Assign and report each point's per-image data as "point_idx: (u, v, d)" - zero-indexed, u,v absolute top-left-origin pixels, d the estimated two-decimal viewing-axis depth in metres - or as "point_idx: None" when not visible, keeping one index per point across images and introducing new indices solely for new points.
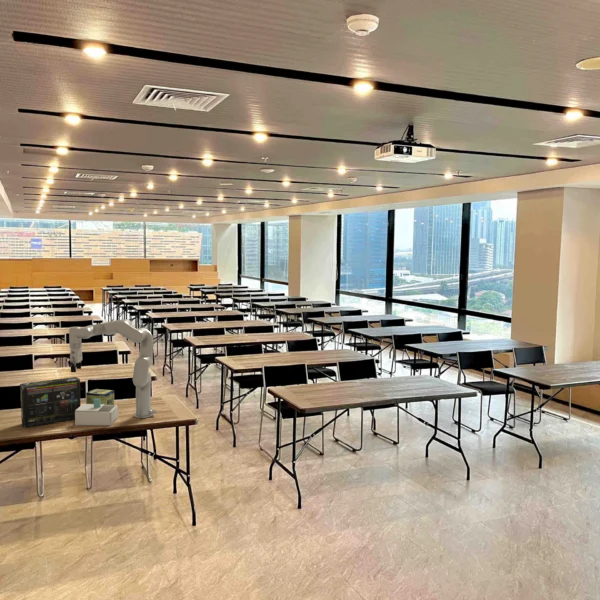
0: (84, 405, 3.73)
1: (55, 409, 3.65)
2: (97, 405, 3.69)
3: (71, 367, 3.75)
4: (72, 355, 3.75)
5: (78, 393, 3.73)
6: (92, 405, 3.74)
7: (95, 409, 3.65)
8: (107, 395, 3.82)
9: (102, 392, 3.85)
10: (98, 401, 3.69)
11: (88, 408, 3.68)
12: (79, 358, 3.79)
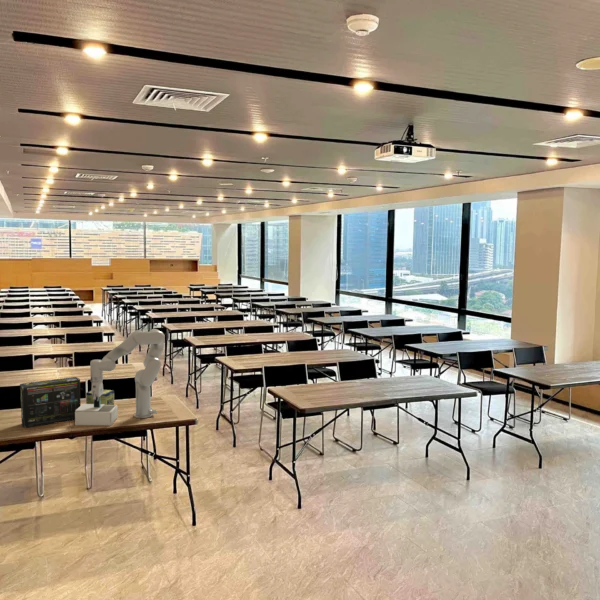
0: (84, 405, 3.73)
1: (55, 409, 3.65)
2: None
3: (94, 402, 3.69)
4: (93, 389, 3.64)
5: (78, 393, 3.73)
6: (92, 405, 3.74)
7: (95, 409, 3.65)
8: (107, 395, 3.82)
9: None
10: None
11: (88, 408, 3.68)
12: (100, 392, 3.68)
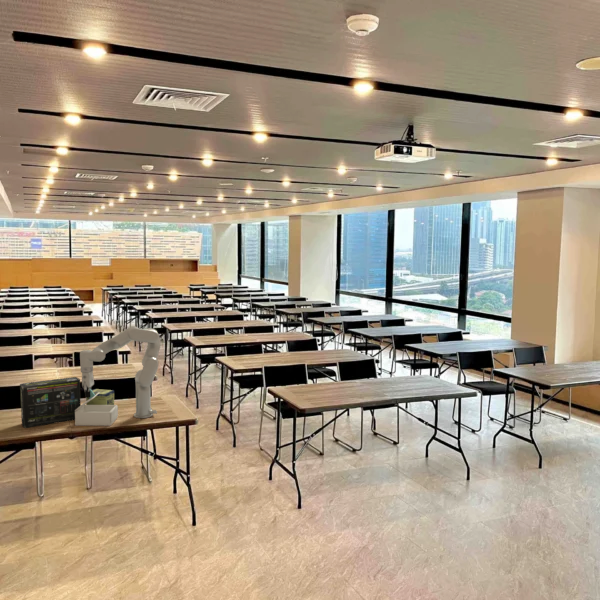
0: (83, 403, 3.73)
1: (55, 409, 3.65)
2: (91, 395, 3.69)
3: (85, 392, 3.68)
4: (84, 380, 3.63)
5: (78, 393, 3.73)
6: None
7: (90, 398, 3.64)
8: (107, 395, 3.82)
9: (102, 392, 3.85)
10: None
11: (85, 402, 3.68)
12: (91, 382, 3.67)
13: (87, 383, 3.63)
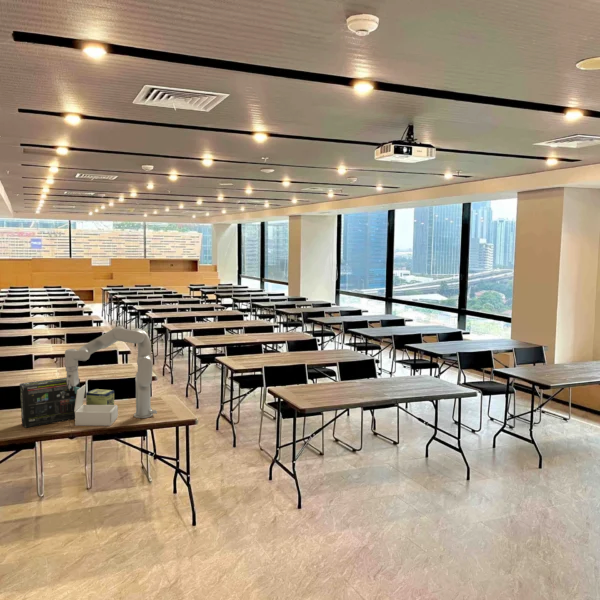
0: None
1: (55, 408, 3.66)
2: (78, 390, 3.68)
3: (70, 391, 3.67)
4: (68, 379, 3.62)
5: None
6: None
7: None
8: (107, 395, 3.82)
9: (102, 392, 3.85)
10: (74, 388, 3.68)
11: None
12: (76, 381, 3.67)
13: (72, 382, 3.63)
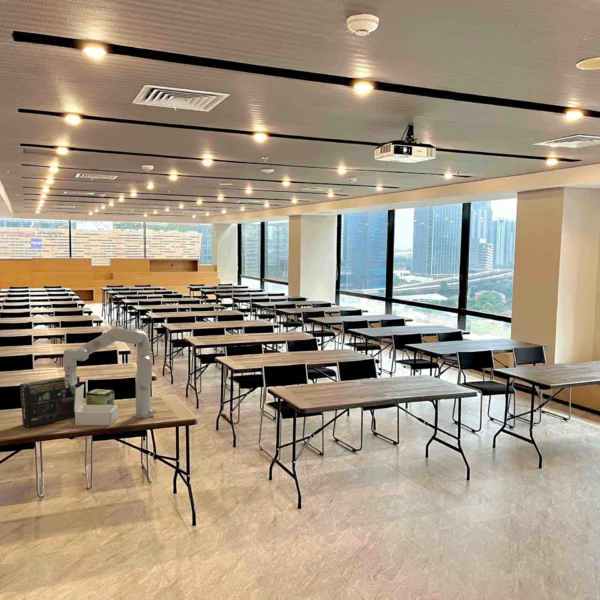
0: None
1: (56, 407, 3.67)
2: None
3: None
4: (67, 379, 3.62)
5: None
6: None
7: None
8: (107, 395, 3.82)
9: (102, 392, 3.85)
10: (72, 389, 3.68)
11: None
12: (74, 381, 3.67)
13: (70, 382, 3.63)
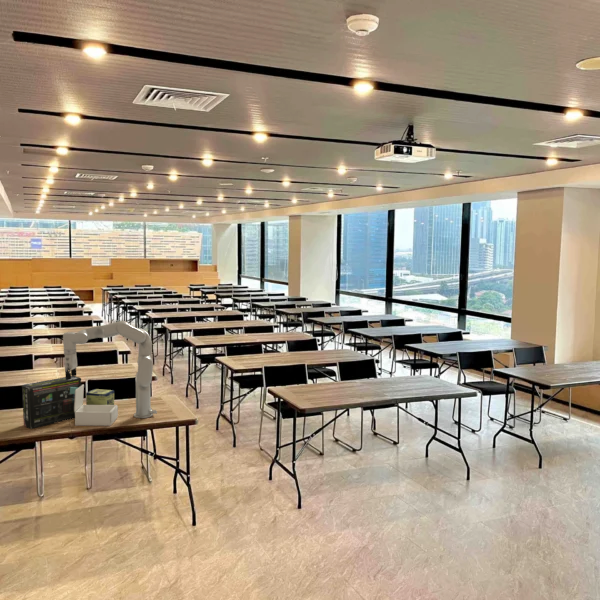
0: None
1: (58, 408, 3.67)
2: None
3: (66, 374, 3.62)
4: (67, 362, 3.61)
5: None
6: None
7: None
8: (107, 395, 3.82)
9: (102, 392, 3.85)
10: (72, 389, 3.68)
11: None
12: (74, 365, 3.66)
13: (70, 365, 3.62)
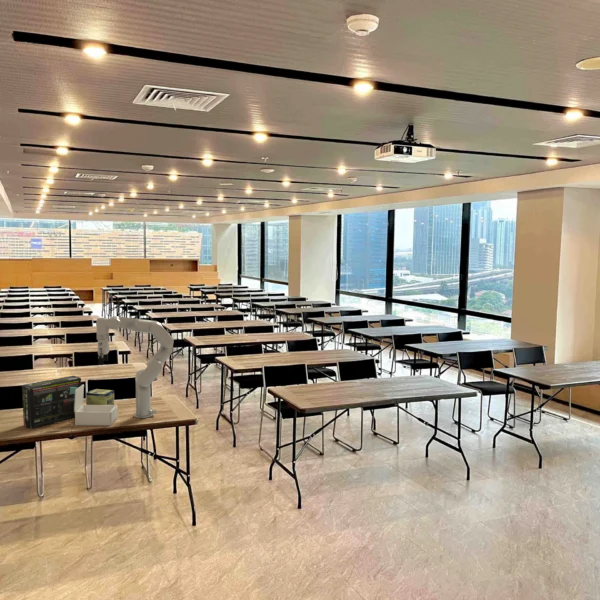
0: None
1: (58, 408, 3.67)
2: None
3: (98, 359, 3.68)
4: (100, 346, 3.67)
5: None
6: None
7: None
8: (107, 395, 3.82)
9: (102, 392, 3.85)
10: (72, 389, 3.68)
11: None
12: (106, 350, 3.71)
13: (103, 350, 3.67)
